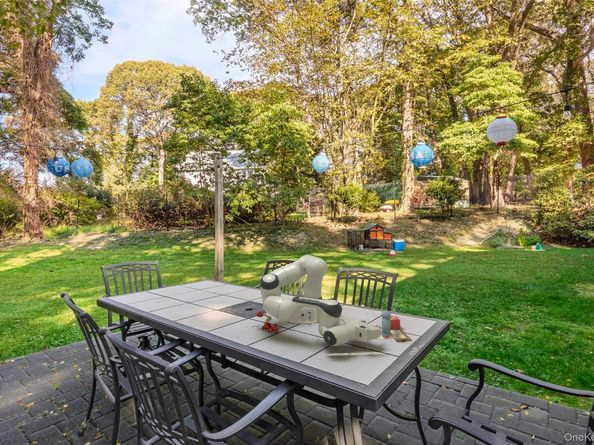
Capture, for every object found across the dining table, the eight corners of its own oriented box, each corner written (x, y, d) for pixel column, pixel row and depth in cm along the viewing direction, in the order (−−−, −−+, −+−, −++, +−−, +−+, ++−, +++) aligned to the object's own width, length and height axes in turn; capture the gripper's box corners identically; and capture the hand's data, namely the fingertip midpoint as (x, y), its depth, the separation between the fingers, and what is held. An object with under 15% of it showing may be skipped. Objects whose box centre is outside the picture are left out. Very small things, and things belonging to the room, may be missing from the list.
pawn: (382, 336, 174) (382, 312, 174) (379, 332, 180) (379, 309, 179) (393, 336, 175) (393, 312, 174) (389, 332, 180) (389, 309, 180)
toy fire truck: (276, 333, 182) (276, 316, 182) (256, 329, 189) (256, 312, 189) (279, 331, 185) (279, 314, 185) (260, 327, 192) (259, 310, 192)
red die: (389, 330, 187) (389, 319, 186) (386, 326, 193) (386, 316, 192) (400, 330, 187) (400, 319, 187) (396, 326, 193) (396, 315, 193)
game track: (346, 343, 169) (346, 341, 169) (340, 333, 183) (340, 330, 183) (411, 341, 171) (411, 339, 171) (401, 331, 185) (401, 329, 185)
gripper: (338, 330, 170) (356, 324, 178) (368, 343, 154) (388, 336, 162) (338, 318, 170) (356, 313, 178) (369, 330, 154) (388, 323, 162)
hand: (371, 324), depth 170 cm, fingers open, 8 cm apart
